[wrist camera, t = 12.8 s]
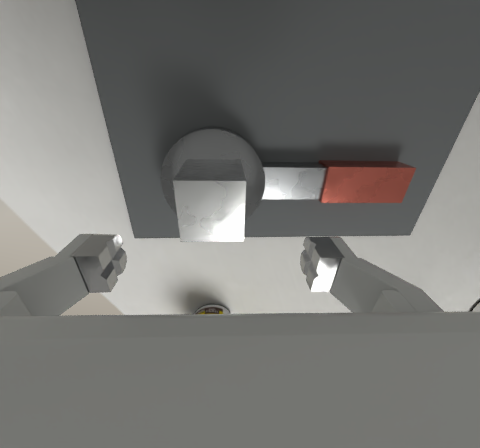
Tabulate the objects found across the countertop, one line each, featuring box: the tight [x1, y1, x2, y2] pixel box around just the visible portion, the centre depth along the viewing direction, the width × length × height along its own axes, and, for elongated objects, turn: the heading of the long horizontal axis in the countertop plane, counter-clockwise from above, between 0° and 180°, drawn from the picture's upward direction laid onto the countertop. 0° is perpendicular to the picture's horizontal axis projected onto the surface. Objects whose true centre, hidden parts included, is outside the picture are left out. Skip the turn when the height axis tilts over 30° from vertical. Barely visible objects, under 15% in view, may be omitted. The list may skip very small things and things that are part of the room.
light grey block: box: [173, 159, 246, 242], centre depth 17 cm, size 4×4×6 cm
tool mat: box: [75, 0, 480, 238], centre depth 20 cm, size 32×22×1 cm
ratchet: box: [161, 126, 416, 220], centre depth 20 cm, size 22×9×5 cm, turn 88°
